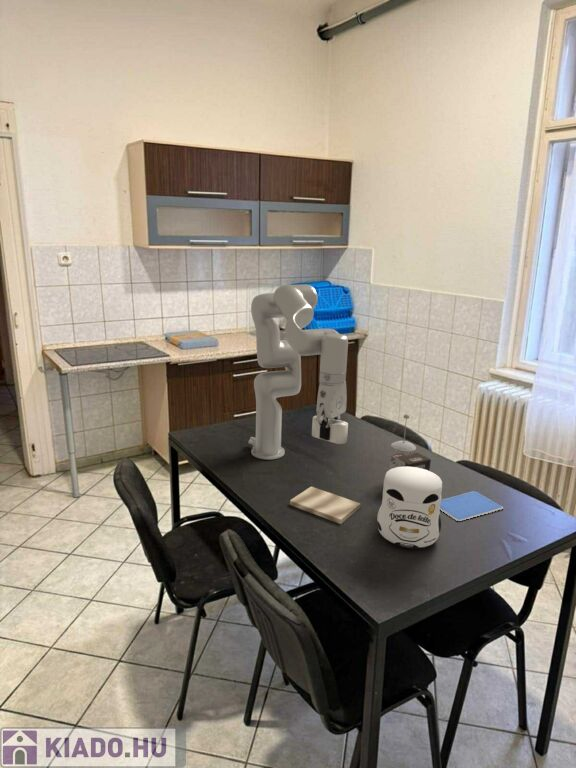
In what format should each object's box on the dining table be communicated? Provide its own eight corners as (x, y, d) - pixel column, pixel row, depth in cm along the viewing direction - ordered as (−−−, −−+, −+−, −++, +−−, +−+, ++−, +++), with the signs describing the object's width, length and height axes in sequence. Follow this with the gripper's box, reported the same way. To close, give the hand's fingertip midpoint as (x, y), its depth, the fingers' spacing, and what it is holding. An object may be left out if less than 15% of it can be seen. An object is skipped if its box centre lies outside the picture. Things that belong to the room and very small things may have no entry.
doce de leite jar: (399, 560, 140) (405, 498, 135) (364, 526, 155) (369, 469, 150) (452, 546, 146) (460, 487, 141) (413, 516, 162) (420, 461, 157)
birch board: (289, 504, 166) (290, 500, 165) (310, 490, 175) (311, 486, 175) (340, 524, 156) (340, 519, 155) (360, 507, 165) (360, 503, 165)
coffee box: (402, 513, 163) (408, 464, 159) (389, 503, 169) (394, 456, 164) (426, 507, 167) (431, 459, 163) (412, 497, 173) (417, 451, 168)
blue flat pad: (458, 524, 159) (458, 520, 158) (429, 505, 170) (429, 501, 169) (504, 511, 168) (505, 507, 167) (474, 493, 178) (474, 489, 178)
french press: (379, 483, 182) (385, 413, 175) (397, 473, 190) (404, 406, 183) (404, 493, 175) (412, 421, 168) (422, 482, 183) (430, 413, 176)
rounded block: (308, 435, 160) (309, 418, 159) (316, 431, 164) (317, 414, 162) (342, 445, 154) (343, 427, 153) (349, 440, 158) (350, 423, 156)
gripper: (328, 386, 145) (324, 448, 150) (358, 373, 158) (353, 431, 164) (305, 380, 149) (302, 441, 154) (336, 369, 163) (332, 425, 168)
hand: (329, 435), depth 159 cm, fingers closed on rounded block, 4 cm apart
